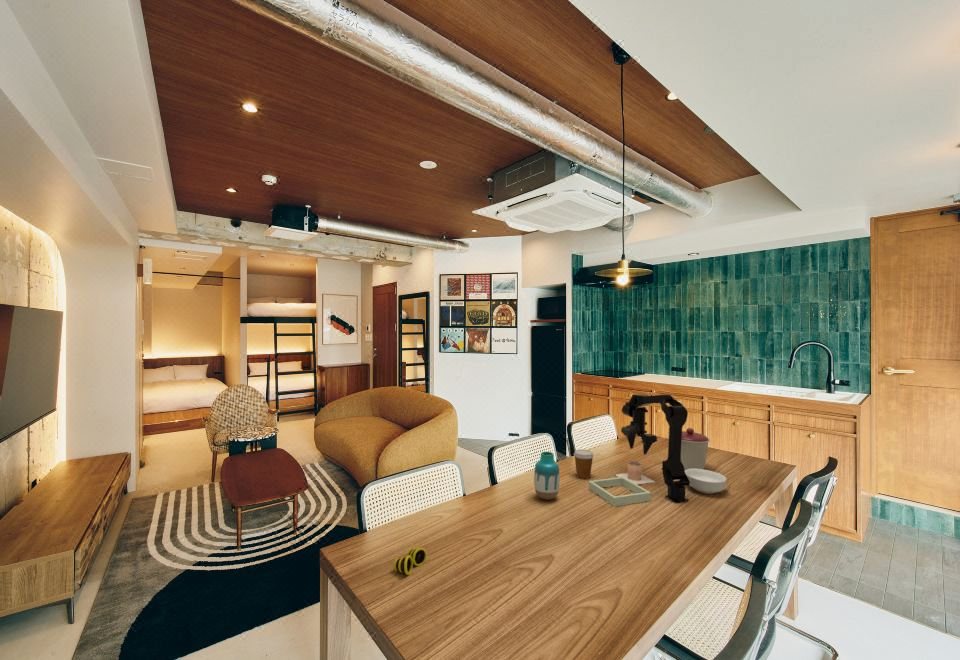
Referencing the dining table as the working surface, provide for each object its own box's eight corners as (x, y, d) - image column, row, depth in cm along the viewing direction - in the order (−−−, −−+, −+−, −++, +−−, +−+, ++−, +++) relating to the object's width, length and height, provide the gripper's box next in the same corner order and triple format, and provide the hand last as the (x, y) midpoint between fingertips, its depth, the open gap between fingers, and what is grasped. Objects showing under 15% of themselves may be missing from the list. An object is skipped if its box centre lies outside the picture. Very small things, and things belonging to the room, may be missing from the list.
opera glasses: (415, 559, 126) (413, 543, 126) (428, 561, 123) (426, 545, 123) (393, 576, 117) (391, 558, 118) (406, 578, 115) (404, 560, 115)
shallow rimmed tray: (650, 500, 168) (651, 492, 168) (614, 506, 163) (614, 497, 163) (622, 484, 186) (622, 476, 186) (588, 488, 180) (588, 481, 180)
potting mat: (655, 482, 188) (655, 481, 188) (632, 485, 184) (632, 484, 184) (636, 473, 201) (636, 472, 201) (614, 475, 197) (614, 474, 197)
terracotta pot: (644, 479, 190) (644, 464, 190) (633, 481, 188) (633, 466, 188) (635, 475, 196) (635, 460, 196) (624, 476, 195) (624, 461, 194)
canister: (673, 472, 202) (674, 431, 202) (667, 461, 219) (668, 422, 219) (713, 476, 197) (714, 434, 197) (704, 464, 214) (705, 425, 214)
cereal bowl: (723, 501, 169) (724, 485, 169) (680, 491, 179) (680, 475, 179) (728, 489, 182) (728, 473, 182) (687, 480, 192) (688, 465, 192)
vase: (530, 500, 168) (531, 454, 168) (538, 491, 177) (539, 448, 177) (554, 505, 163) (555, 458, 163) (562, 496, 172) (562, 451, 172)
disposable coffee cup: (588, 481, 189) (589, 456, 188) (570, 477, 194) (570, 452, 194) (596, 476, 196) (596, 451, 196) (578, 471, 202) (578, 447, 202)
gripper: (612, 416, 202) (612, 447, 202) (639, 425, 184) (638, 459, 184) (630, 415, 205) (630, 445, 206) (658, 424, 188) (657, 456, 188)
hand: (638, 451), depth 196 cm, fingers open, 9 cm apart
